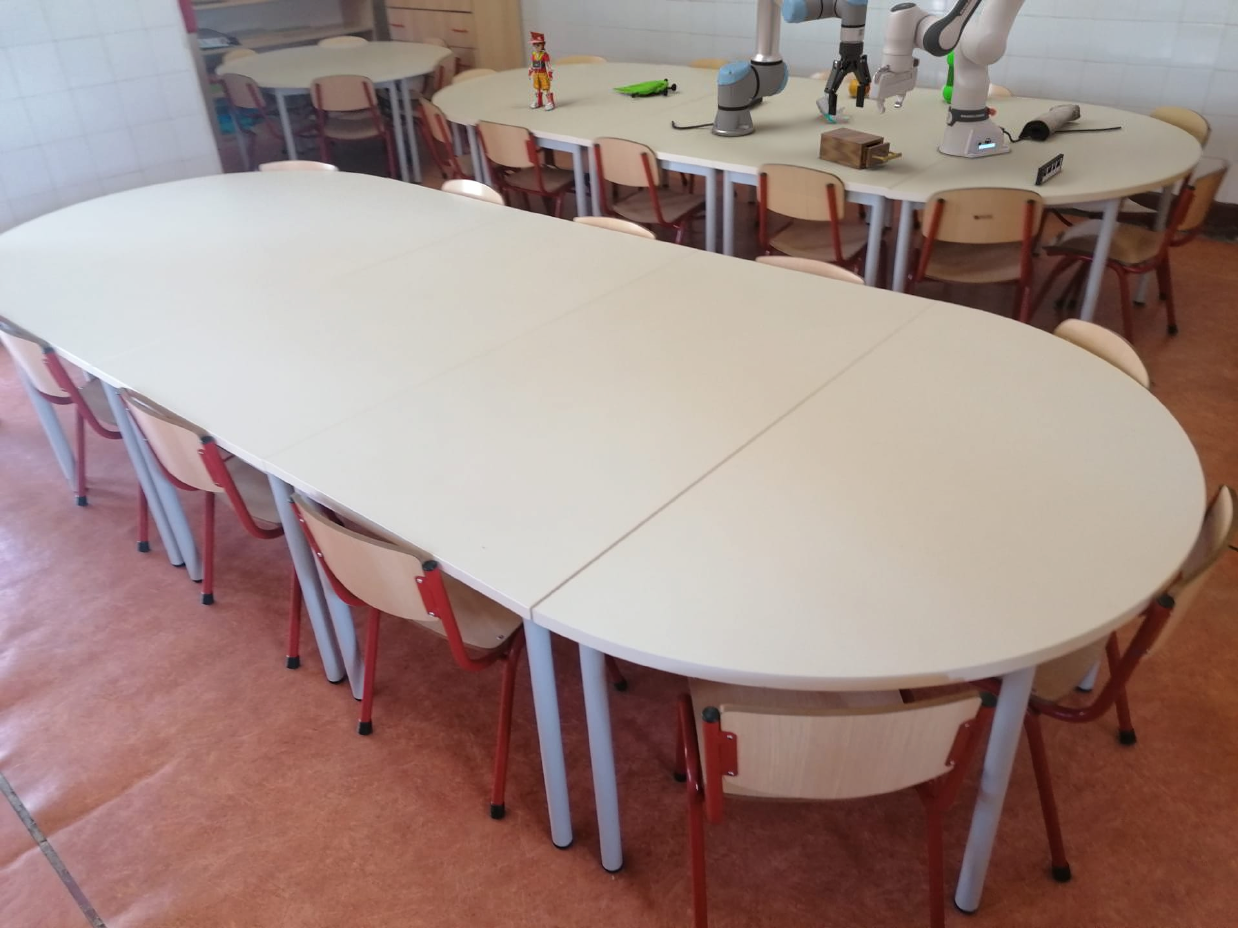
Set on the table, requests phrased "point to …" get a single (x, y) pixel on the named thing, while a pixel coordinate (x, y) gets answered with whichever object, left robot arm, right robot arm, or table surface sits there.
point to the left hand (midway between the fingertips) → (845, 111)
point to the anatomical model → (824, 107)
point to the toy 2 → (648, 88)
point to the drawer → (877, 154)
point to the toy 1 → (541, 71)
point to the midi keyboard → (1049, 169)
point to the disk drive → (755, 102)
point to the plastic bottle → (949, 78)
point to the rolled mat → (1050, 122)
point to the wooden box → (846, 146)
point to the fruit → (853, 88)
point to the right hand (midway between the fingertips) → (889, 110)
